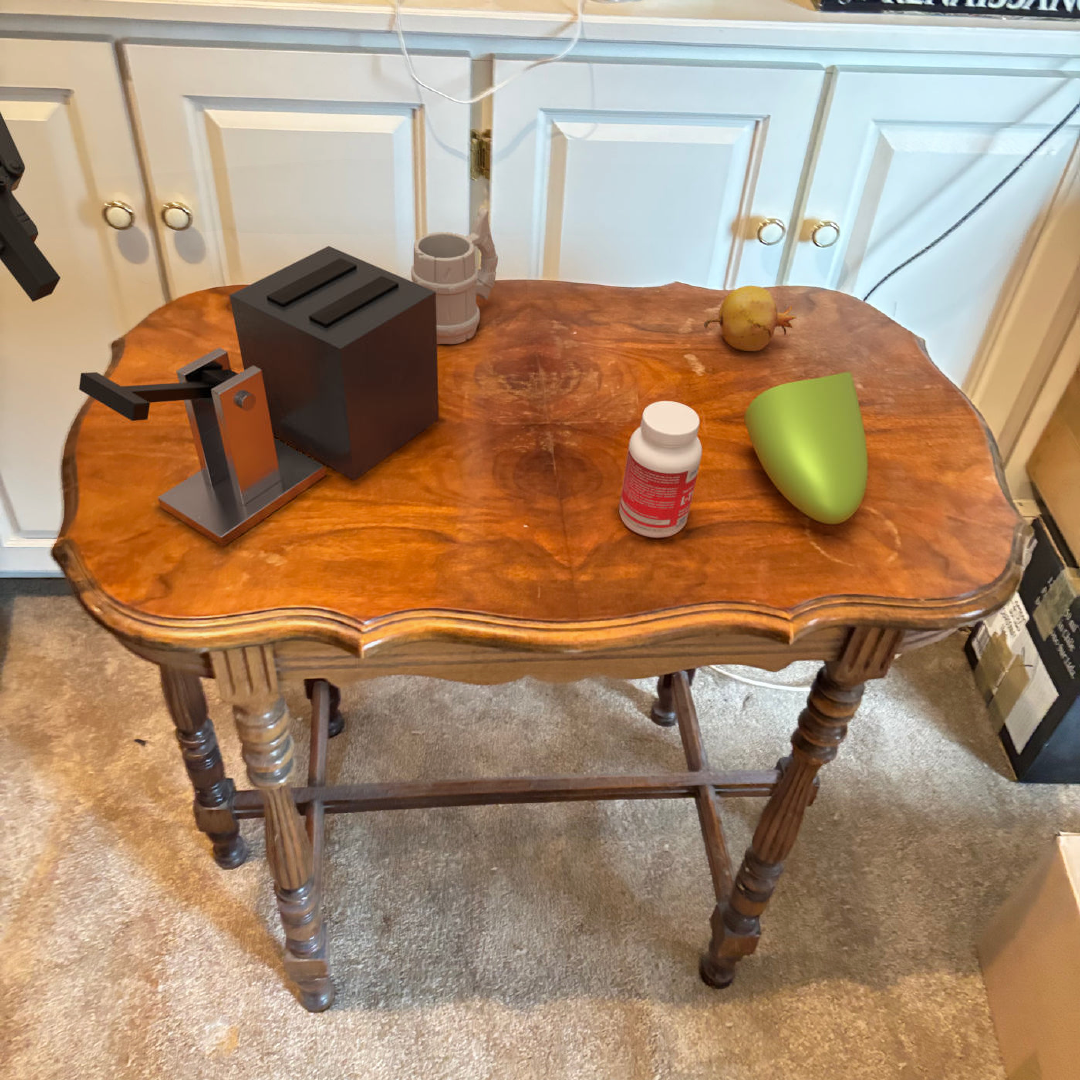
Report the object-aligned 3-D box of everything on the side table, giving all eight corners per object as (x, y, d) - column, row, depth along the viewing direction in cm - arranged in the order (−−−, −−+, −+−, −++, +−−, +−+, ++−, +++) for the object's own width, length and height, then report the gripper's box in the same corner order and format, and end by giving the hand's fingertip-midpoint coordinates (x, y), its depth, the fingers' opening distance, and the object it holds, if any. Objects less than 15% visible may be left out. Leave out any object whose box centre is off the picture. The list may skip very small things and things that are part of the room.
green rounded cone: (751, 330, 90) (794, 477, 77) (865, 354, 92) (926, 500, 79) (719, 392, 96) (755, 539, 82) (828, 413, 98) (879, 558, 85)
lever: (131, 428, 66) (135, 396, 65) (77, 396, 68) (81, 365, 67) (259, 415, 76) (264, 387, 75) (209, 387, 78) (213, 360, 78)
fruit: (713, 315, 99) (807, 317, 99) (707, 269, 102) (798, 272, 103) (701, 360, 105) (790, 362, 105) (696, 315, 108) (782, 317, 108)
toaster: (354, 480, 85) (339, 344, 75) (254, 425, 90) (228, 290, 80) (438, 419, 92) (435, 287, 82) (342, 371, 97) (328, 241, 87)
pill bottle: (684, 545, 82) (707, 445, 74) (615, 534, 82) (630, 434, 74) (688, 499, 86) (709, 400, 78) (621, 489, 86) (637, 390, 79)
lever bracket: (223, 547, 78) (192, 424, 69) (160, 507, 81) (122, 384, 72) (326, 475, 85) (310, 355, 77) (264, 441, 89) (242, 322, 80)
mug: (396, 327, 104) (390, 225, 96) (469, 290, 111) (470, 191, 102) (445, 355, 101) (444, 251, 92) (517, 314, 107) (522, 214, 99)
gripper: (-321, -60, 52) (-35, 306, 58) (-92, -92, 60) (141, 232, 66) (-311, 23, 58) (-52, 349, 63) (-103, -16, 66) (112, 277, 71)
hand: (46, 289), depth 64 cm, fingers closed
